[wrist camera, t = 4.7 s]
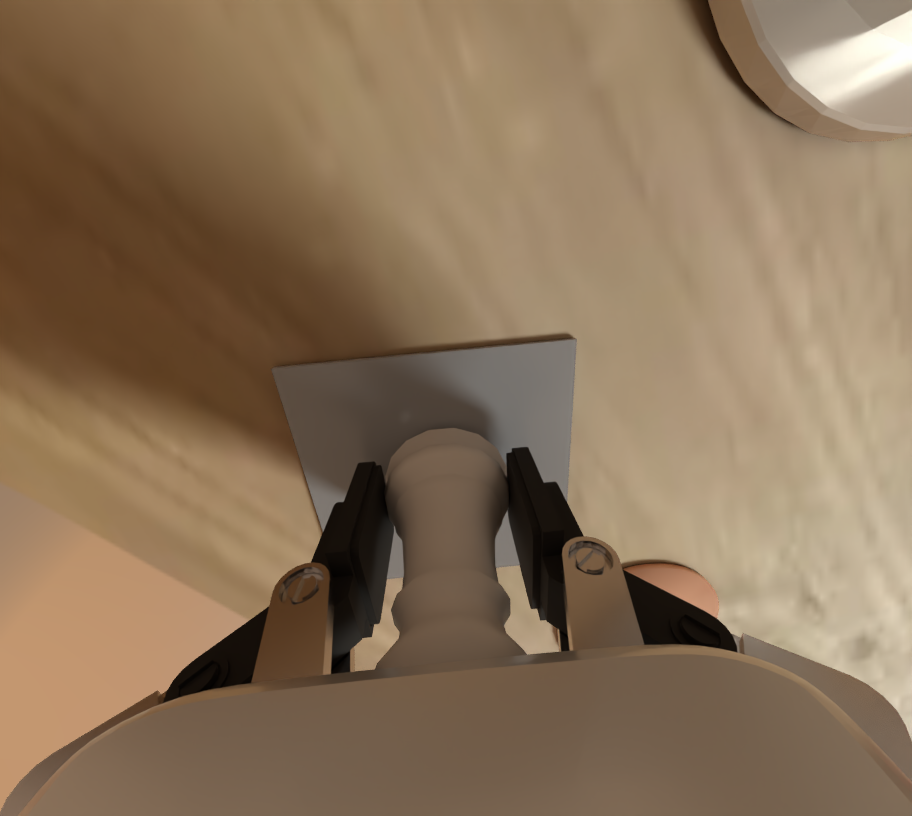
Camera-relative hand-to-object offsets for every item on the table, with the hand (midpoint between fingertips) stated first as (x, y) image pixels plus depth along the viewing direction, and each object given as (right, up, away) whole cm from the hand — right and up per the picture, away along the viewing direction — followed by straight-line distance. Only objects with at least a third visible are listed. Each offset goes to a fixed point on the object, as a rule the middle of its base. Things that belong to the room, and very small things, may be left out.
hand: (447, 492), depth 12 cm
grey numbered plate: (0, 0, +1) cm, 1 cm away
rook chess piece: (0, +1, +1) cm, 1 cm away
